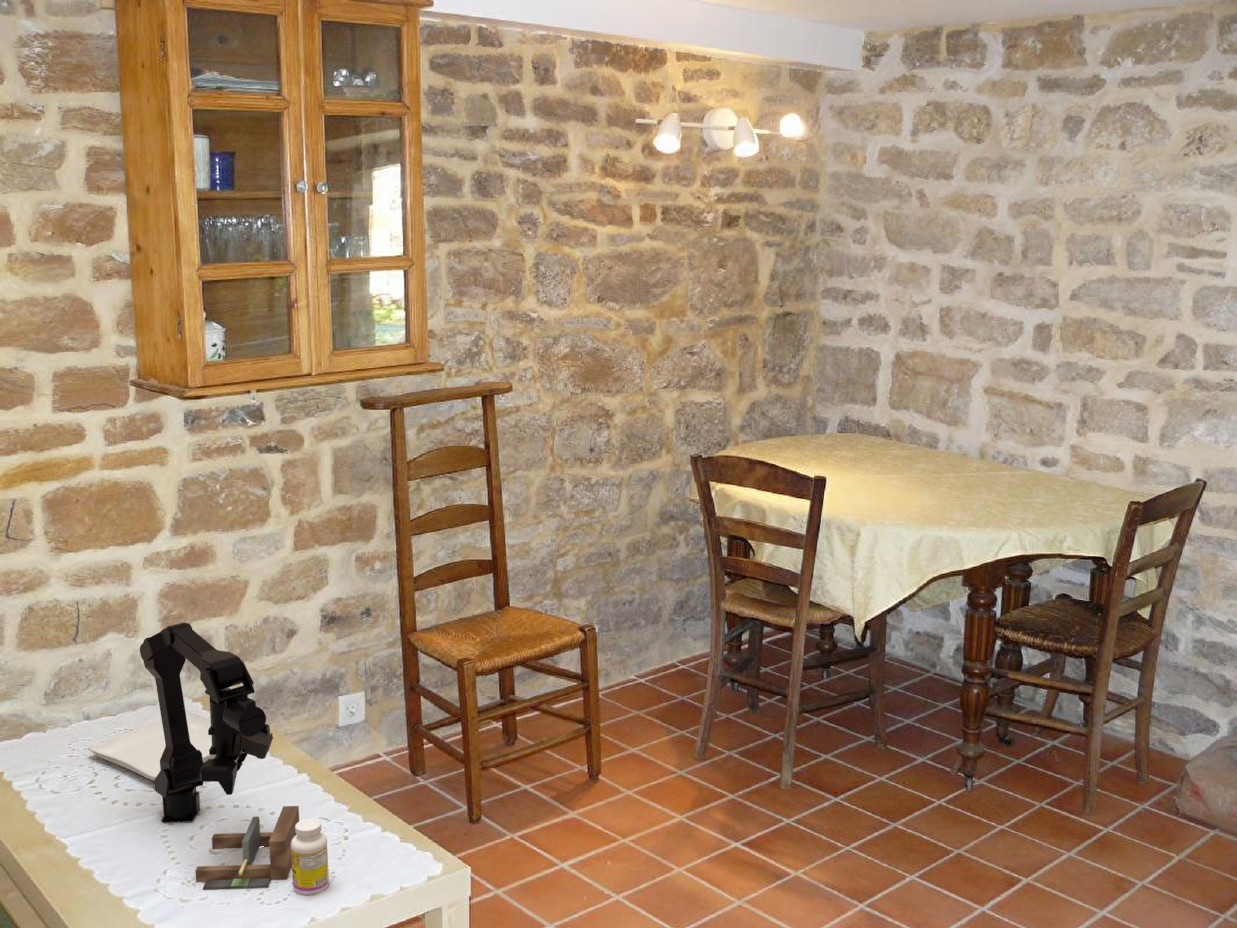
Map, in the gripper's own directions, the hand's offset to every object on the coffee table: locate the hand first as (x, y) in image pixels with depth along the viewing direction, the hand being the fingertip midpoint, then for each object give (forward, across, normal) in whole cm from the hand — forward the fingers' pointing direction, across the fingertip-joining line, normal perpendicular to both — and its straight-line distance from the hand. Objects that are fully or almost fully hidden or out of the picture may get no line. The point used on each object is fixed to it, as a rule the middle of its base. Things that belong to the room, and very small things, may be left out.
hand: (229, 793), depth 243 cm
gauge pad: (+11, -6, -5) cm, 14 cm away
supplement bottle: (+12, -14, -18) cm, 26 cm away
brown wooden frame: (+12, -5, -4) cm, 14 cm away
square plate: (+14, +47, +25) cm, 55 cm away
